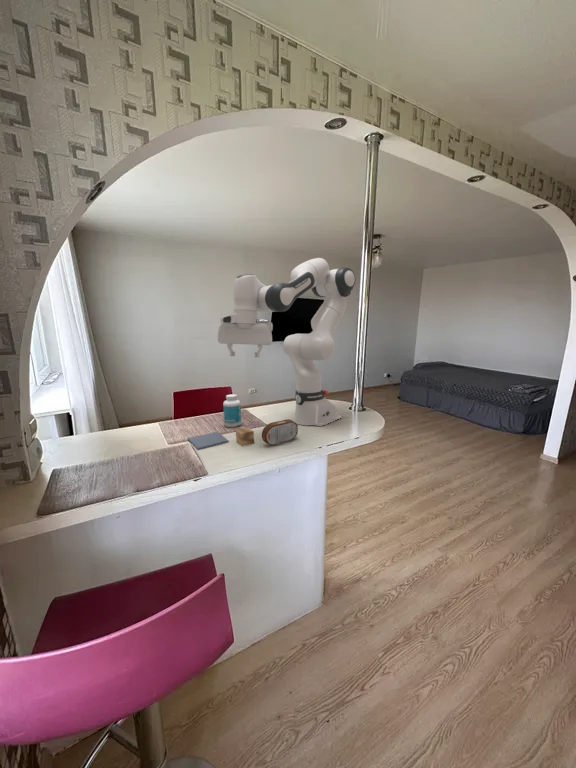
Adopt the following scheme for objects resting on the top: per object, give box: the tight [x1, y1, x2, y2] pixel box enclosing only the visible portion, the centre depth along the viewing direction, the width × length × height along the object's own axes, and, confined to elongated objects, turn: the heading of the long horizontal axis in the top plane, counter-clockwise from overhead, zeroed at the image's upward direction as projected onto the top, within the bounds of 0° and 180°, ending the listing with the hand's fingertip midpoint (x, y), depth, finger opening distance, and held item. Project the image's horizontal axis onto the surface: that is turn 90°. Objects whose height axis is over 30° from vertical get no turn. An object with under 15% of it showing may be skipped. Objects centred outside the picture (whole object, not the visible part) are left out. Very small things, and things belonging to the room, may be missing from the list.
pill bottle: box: [222, 393, 243, 428], centre depth 145 cm, size 8×7×14 cm
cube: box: [235, 426, 255, 447], centre depth 125 cm, size 5×5×5 cm
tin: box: [261, 418, 299, 446], centre depth 124 cm, size 15×3×8 cm, turn 124°
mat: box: [187, 431, 230, 451], centre depth 128 cm, size 12×12×1 cm
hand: (244, 356), depth 124 cm, fingers open, 8 cm apart
